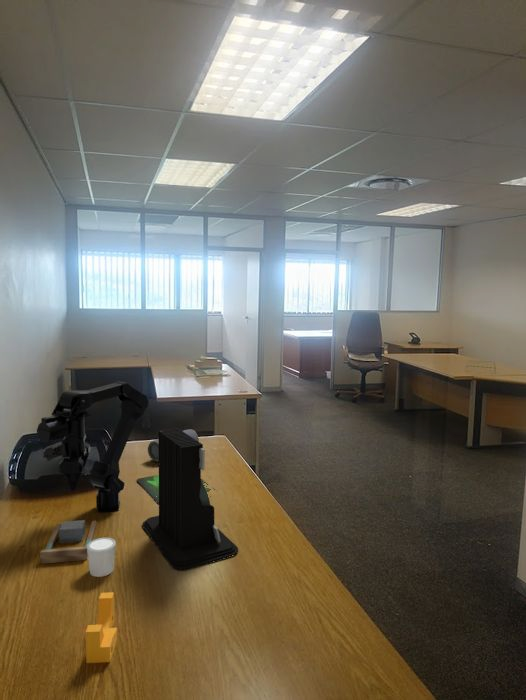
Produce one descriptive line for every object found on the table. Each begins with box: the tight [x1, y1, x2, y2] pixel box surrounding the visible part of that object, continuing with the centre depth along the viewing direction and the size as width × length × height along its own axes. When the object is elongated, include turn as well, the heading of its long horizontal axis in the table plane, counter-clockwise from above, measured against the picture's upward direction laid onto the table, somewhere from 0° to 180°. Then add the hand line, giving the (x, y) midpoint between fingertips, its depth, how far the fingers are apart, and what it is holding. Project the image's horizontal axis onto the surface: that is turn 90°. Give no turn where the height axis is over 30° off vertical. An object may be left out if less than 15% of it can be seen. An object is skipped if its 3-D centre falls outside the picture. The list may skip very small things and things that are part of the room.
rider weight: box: [58, 519, 86, 544], centre depth 137 cm, size 6×5×4 cm
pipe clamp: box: [85, 591, 118, 664], centre depth 97 cm, size 12×4×6 cm, turn 5°
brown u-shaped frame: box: [39, 520, 98, 565], centre depth 134 cm, size 11×20×3 cm, turn 12°
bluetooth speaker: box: [147, 429, 200, 462], centre depth 208 cm, size 23×9×10 cm, turn 147°
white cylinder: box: [87, 537, 116, 578], centre depth 121 cm, size 7×7×7 cm
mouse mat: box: [136, 474, 216, 506], centre depth 175 cm, size 27×22×1 cm
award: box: [141, 427, 239, 571], centre depth 137 cm, size 30×19×30 cm, turn 31°
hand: (76, 484), depth 145 cm, fingers open, 9 cm apart
